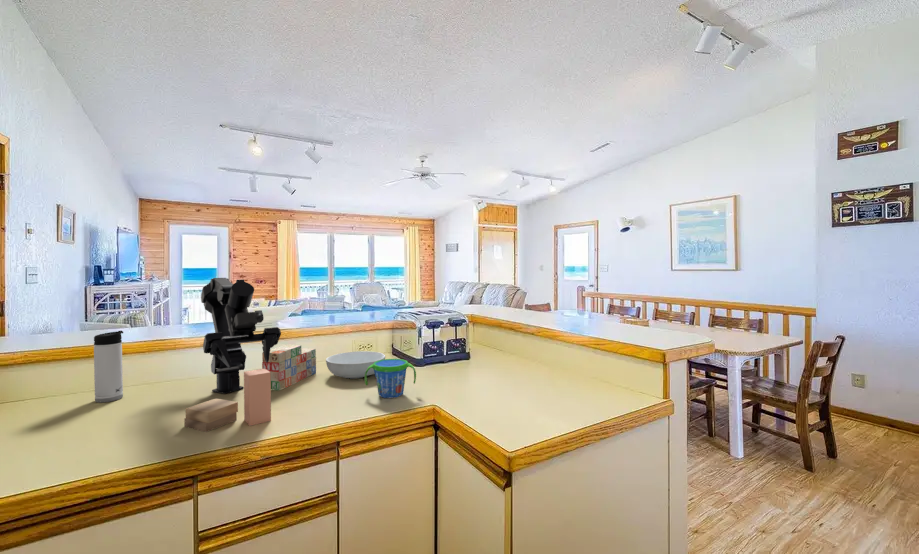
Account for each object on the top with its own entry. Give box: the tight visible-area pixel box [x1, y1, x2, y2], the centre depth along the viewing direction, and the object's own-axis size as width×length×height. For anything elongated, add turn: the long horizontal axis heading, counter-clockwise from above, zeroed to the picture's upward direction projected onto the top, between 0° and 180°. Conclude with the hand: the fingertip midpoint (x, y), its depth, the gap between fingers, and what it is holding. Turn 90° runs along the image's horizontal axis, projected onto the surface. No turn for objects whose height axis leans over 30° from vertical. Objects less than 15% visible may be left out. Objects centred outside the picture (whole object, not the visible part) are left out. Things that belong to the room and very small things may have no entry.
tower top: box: [185, 398, 239, 423], centre depth 101 cm, size 8×8×2 cm
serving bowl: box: [325, 350, 386, 380], centre depth 145 cm, size 21×21×7 cm
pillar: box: [243, 368, 272, 427], centre depth 102 cm, size 5×5×12 cm
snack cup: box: [364, 358, 417, 399], centre depth 123 cm, size 16×10×10 cm
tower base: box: [183, 412, 238, 433], centre depth 101 cm, size 8×8×2 cm
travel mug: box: [93, 330, 124, 403], centre depth 118 cm, size 6×7×20 cm
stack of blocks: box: [261, 344, 317, 391], centre depth 138 cm, size 21×6×12 cm, turn 168°
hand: (249, 364), depth 108 cm, fingers open, 9 cm apart
